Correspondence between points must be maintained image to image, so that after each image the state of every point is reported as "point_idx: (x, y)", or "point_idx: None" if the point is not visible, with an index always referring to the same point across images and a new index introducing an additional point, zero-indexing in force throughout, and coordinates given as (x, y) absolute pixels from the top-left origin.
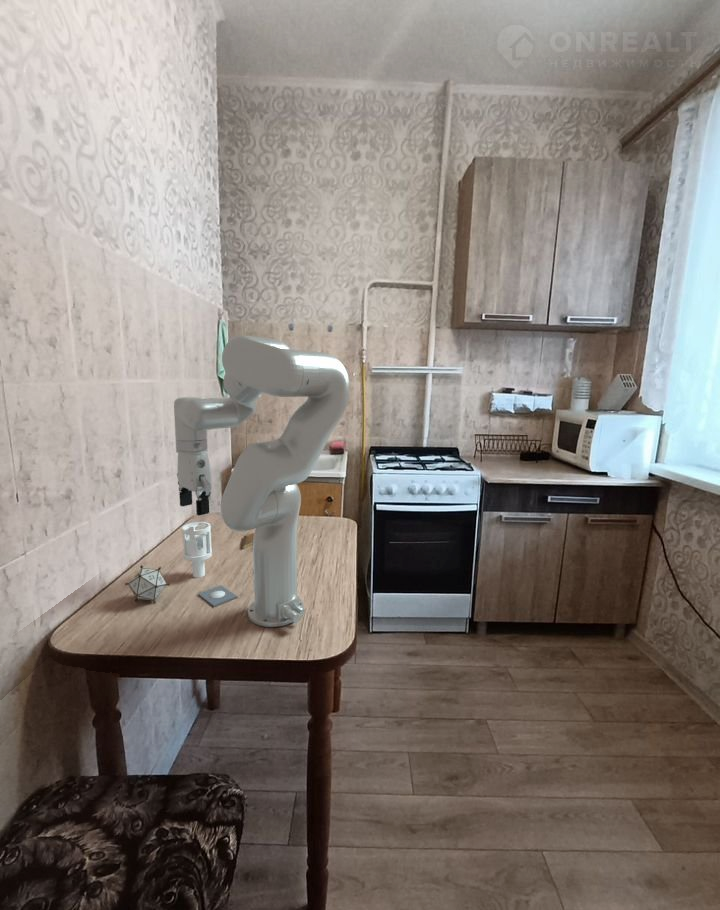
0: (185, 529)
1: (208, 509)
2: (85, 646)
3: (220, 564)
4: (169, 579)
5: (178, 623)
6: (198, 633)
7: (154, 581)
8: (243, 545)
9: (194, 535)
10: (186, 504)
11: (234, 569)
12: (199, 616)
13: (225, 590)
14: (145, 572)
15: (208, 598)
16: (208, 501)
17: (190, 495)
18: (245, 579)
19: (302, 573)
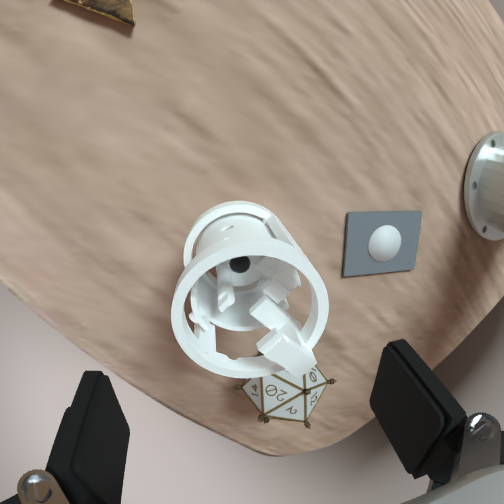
0: (258, 370)
1: (414, 358)
2: (343, 430)
3: (201, 140)
4: None
5: (402, 335)
6: (447, 316)
7: (320, 388)
8: (126, 19)
9: (300, 331)
10: (119, 412)
11: (273, 123)
12: (414, 301)
13: (382, 218)
14: (296, 412)
15: (382, 266)
16: (449, 398)
17: (91, 442)
18: (359, 138)
19: (424, 20)
